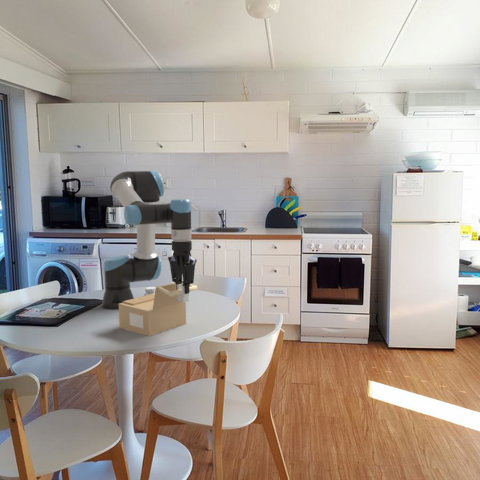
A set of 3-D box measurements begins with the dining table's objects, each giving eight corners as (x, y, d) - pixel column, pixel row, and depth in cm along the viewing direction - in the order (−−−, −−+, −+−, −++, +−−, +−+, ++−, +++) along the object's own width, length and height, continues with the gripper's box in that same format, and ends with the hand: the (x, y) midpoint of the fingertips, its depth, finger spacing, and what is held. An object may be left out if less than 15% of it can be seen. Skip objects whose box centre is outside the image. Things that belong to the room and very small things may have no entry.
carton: (119, 327, 187) (118, 302, 186) (157, 316, 203) (156, 292, 201) (148, 336, 176) (147, 309, 175) (186, 323, 192) (185, 298, 190)
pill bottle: (161, 312, 209) (160, 287, 208) (153, 315, 204) (152, 290, 202) (149, 310, 212) (148, 285, 211) (141, 314, 206) (140, 288, 205)
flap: (155, 286, 174) (169, 293, 169) (186, 279, 186) (199, 285, 182) (152, 309, 176) (166, 317, 172) (182, 300, 188) (195, 307, 184)
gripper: (160, 240, 175) (162, 300, 178) (188, 242, 166) (190, 306, 169) (175, 238, 181) (176, 296, 184) (202, 240, 172) (204, 302, 175)
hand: (183, 301), depth 176 cm, fingers open, 2 cm apart
